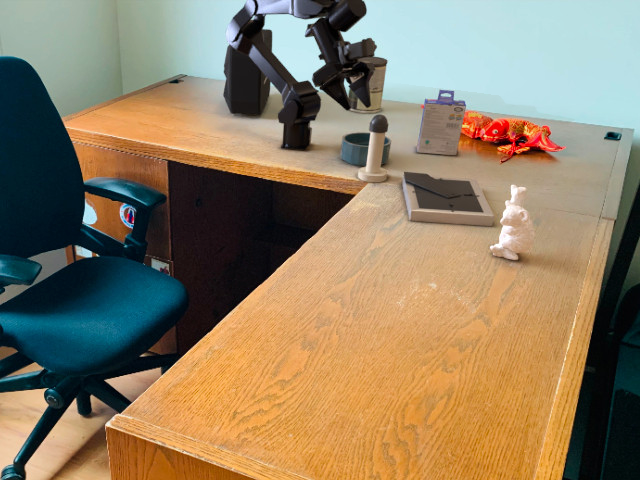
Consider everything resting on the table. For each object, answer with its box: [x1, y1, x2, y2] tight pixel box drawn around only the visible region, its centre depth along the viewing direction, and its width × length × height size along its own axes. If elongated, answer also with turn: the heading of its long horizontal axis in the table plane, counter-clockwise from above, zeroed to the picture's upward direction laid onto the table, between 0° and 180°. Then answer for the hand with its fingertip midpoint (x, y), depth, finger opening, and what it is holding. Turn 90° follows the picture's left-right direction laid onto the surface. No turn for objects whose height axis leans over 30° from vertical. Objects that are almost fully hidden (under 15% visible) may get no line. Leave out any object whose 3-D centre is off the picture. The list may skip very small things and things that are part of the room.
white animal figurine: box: [489, 184, 536, 261], centre depth 115 cm, size 8×7×12 cm
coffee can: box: [348, 56, 389, 114], centre depth 198 cm, size 10×10×14 cm
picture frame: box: [401, 171, 495, 227], centre depth 138 cm, size 16×3×21 cm
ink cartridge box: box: [416, 89, 467, 156], centre depth 164 cm, size 10×6×14 cm, turn 78°
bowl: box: [339, 131, 392, 167], centre depth 160 cm, size 12×12×5 cm
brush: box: [357, 113, 389, 183], centre depth 147 cm, size 6×6×14 cm
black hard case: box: [222, 28, 273, 116], centre depth 197 cm, size 30×12×20 cm, turn 172°
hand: (359, 108), depth 151 cm, fingers open, 9 cm apart
